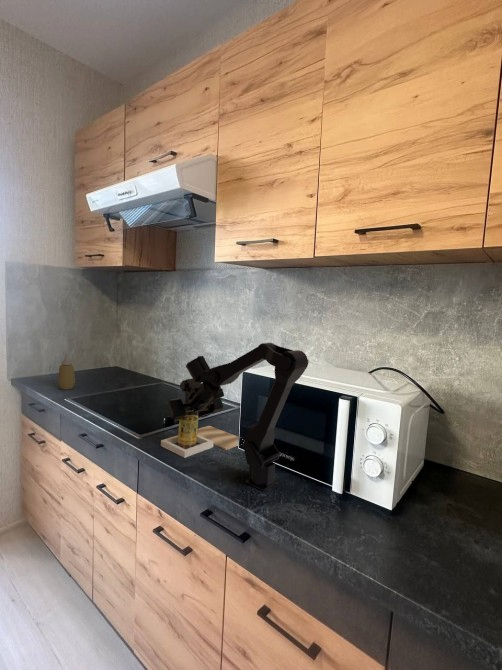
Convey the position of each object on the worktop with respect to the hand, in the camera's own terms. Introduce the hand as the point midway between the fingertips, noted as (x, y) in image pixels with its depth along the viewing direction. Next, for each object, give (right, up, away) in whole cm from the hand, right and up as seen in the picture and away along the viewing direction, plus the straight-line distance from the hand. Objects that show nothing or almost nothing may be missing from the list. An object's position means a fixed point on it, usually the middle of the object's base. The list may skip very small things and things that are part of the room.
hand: (186, 417), depth 121 cm
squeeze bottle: (-74, 0, +64) cm, 98 cm away
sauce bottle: (0, -10, 0) cm, 10 cm away
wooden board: (+9, -9, +9) cm, 16 cm away
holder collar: (0, -10, 0) cm, 10 cm away
